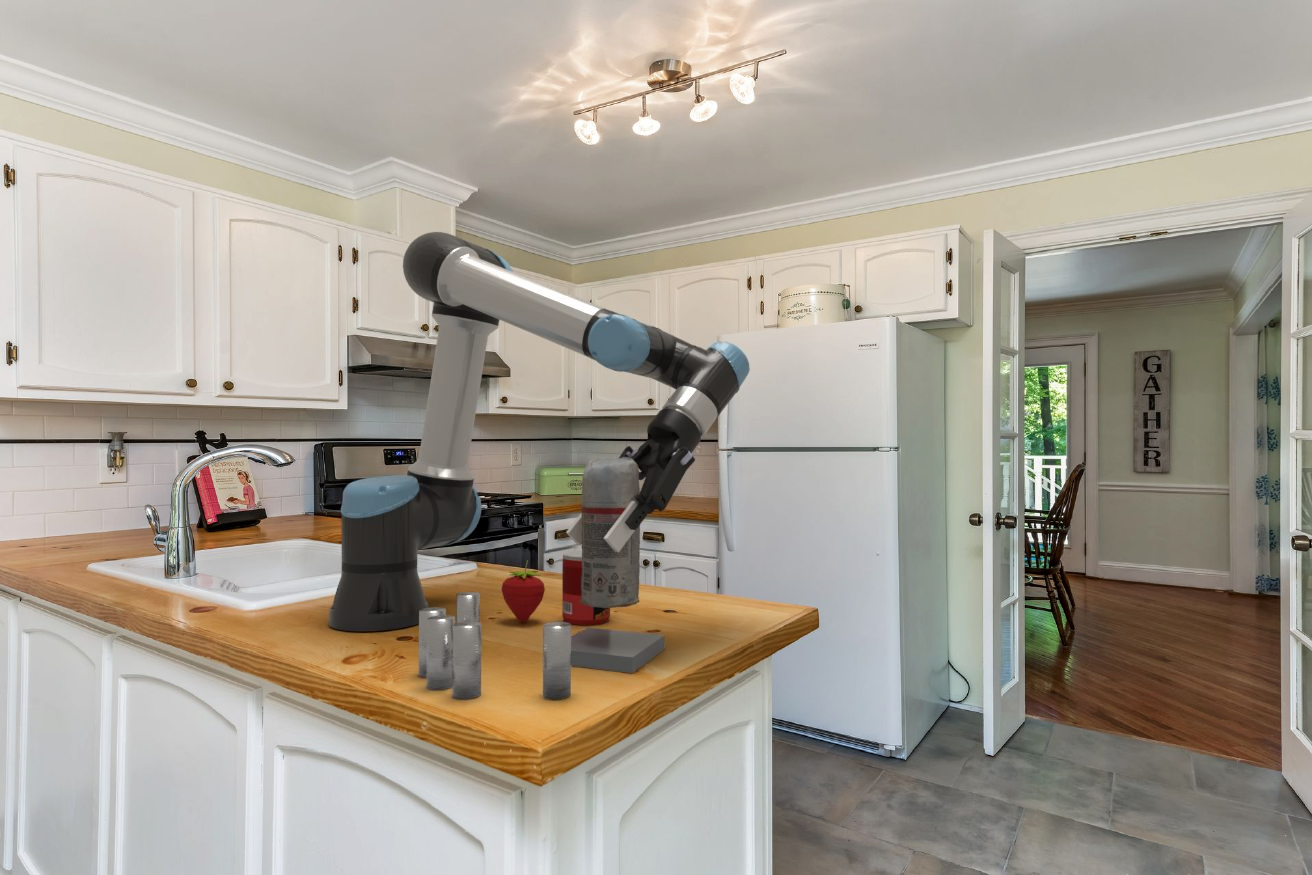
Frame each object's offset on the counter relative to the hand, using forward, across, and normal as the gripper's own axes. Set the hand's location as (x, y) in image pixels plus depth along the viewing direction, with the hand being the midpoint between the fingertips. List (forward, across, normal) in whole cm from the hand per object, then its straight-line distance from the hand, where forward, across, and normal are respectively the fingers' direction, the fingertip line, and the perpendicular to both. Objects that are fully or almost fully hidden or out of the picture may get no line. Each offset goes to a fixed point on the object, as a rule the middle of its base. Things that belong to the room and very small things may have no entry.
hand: (591, 541), depth 100 cm
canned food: (+2, +20, -20) cm, 28 cm away
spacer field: (+20, +2, -2) cm, 20 cm away
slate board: (+9, 0, -13) cm, 16 cm away
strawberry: (+9, +25, -14) cm, 30 cm away
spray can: (+4, 0, -9) cm, 9 cm away
